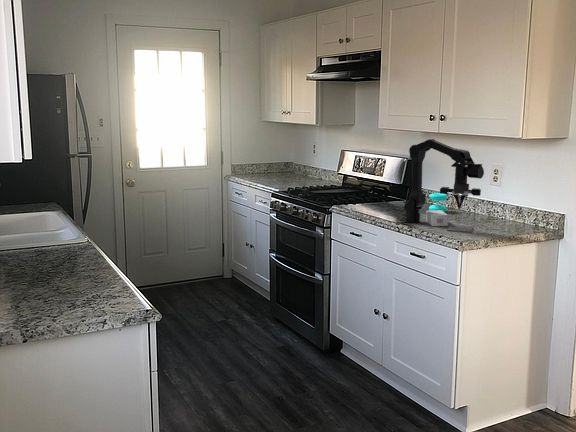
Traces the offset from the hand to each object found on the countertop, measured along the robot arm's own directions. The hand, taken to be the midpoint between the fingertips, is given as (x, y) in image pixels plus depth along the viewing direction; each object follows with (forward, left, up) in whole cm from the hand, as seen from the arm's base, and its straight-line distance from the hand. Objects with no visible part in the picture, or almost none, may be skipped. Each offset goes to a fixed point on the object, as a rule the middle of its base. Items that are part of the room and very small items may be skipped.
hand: (459, 208), depth 291 cm
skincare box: (-9, +2, -7) cm, 12 cm away
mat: (+1, 0, -10) cm, 10 cm away
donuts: (-16, +49, -10) cm, 53 cm away
